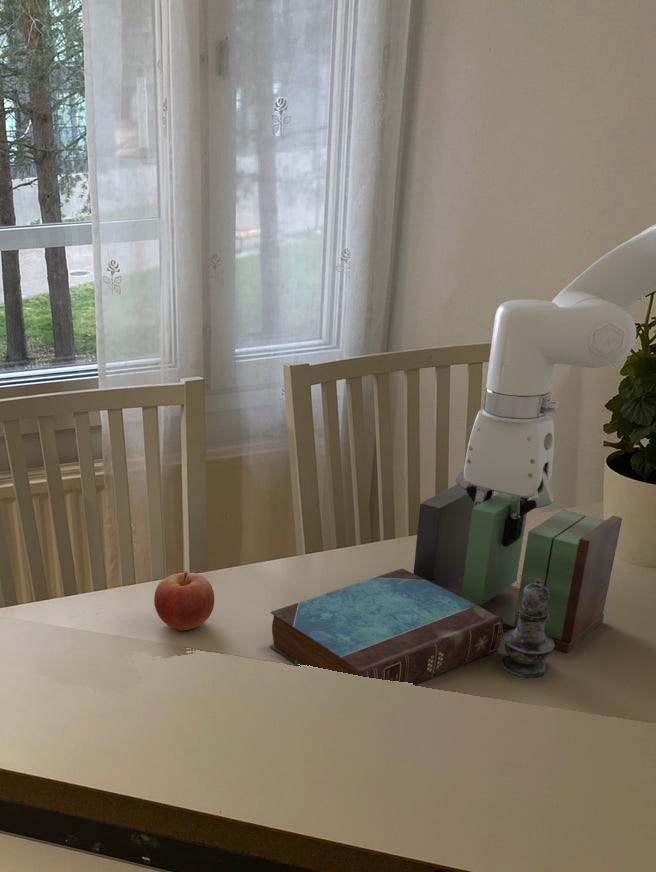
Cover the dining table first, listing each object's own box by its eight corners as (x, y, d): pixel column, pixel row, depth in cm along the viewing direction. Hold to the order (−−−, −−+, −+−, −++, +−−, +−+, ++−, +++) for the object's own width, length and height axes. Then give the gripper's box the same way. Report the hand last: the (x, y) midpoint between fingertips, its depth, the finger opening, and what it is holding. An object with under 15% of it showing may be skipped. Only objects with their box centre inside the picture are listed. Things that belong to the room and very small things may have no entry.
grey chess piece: (528, 650, 114) (543, 563, 109) (560, 673, 109) (577, 583, 104) (488, 658, 112) (501, 571, 107) (519, 682, 107) (534, 591, 102)
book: (362, 709, 103) (365, 672, 101) (267, 645, 117) (268, 611, 115) (499, 652, 114) (504, 617, 112) (398, 599, 127) (401, 567, 125)
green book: (496, 574, 129) (508, 487, 123) (516, 580, 127) (530, 492, 121) (460, 598, 122) (472, 507, 117) (481, 605, 120) (494, 513, 115)
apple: (225, 631, 120) (225, 577, 117) (169, 644, 118) (167, 588, 114) (200, 606, 127) (199, 554, 124) (147, 617, 124) (145, 564, 121)
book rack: (439, 570, 136) (450, 475, 129) (602, 622, 120) (624, 516, 114) (399, 595, 129) (408, 495, 122) (567, 653, 113) (587, 542, 107)
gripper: (594, 408, 111) (569, 547, 118) (470, 387, 121) (454, 516, 129) (567, 421, 106) (543, 565, 114) (441, 398, 116) (426, 531, 124)
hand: (496, 538), depth 121 cm, fingers closed on green book, 3 cm apart
